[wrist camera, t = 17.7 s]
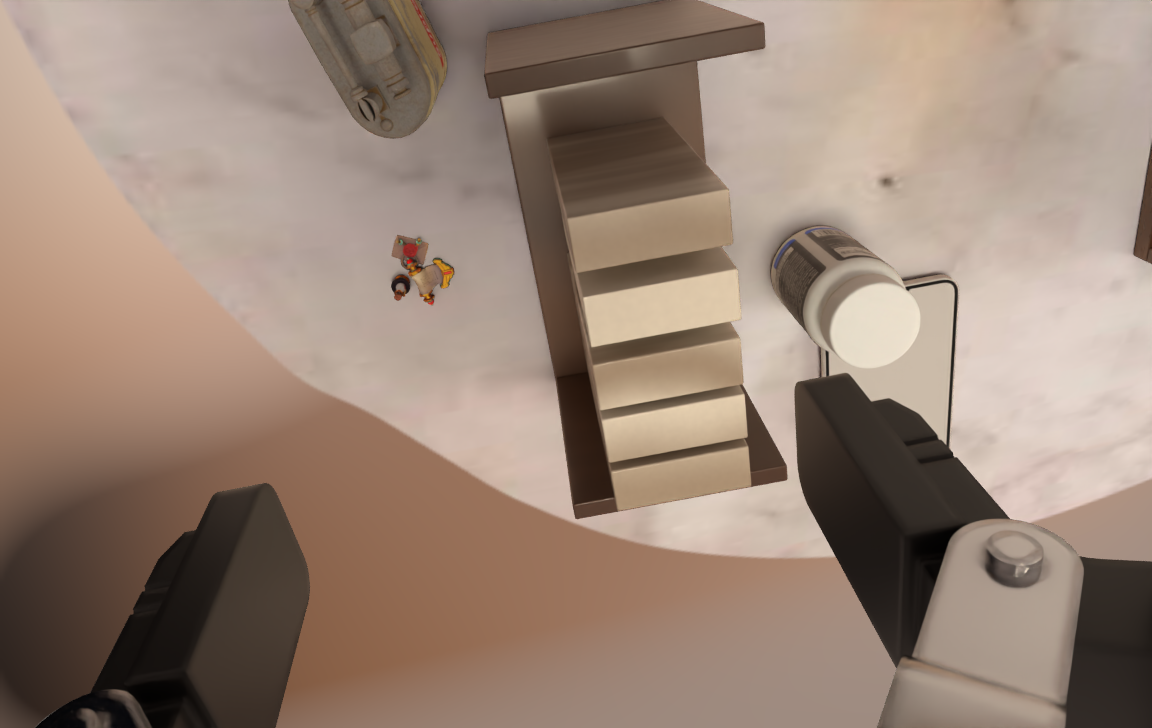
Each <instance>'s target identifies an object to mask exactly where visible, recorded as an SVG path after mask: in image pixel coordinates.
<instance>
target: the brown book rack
mask: <svg viewBox="0 0 1152 728" xmlns="http://www.w3.org/2000/svg"><path fill="white" fill-rule="evenodd" d="M1134 256H1136V257H1138V258H1140V259H1142V260H1144V261H1148V262H1149V263H1151V264H1152V149H1151V155H1150V161H1149V167H1148V173H1147V179H1146V185H1145V191H1144V197H1143V203H1142V209H1141V215H1140V221H1139V227H1138V233H1137V239H1136V245H1135V251H1134Z"/></svg>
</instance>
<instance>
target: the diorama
mask: <svg viewBox="0 0 1152 728" xmlns="http://www.w3.org/2000/svg"><path fill="white" fill-rule="evenodd" d="M427 249H428V243H425V242H422V241H421V239H420V238H418V239H417V240H416V239H412V238H408V237H404V236H400V235H397V236H396V239H395V243H394V246H393V251H392V257H395V258H399V259H401V265H402V266H403V267H404V268H405V269H407V270H410V271H409V272H408V274H409V276H410V277H412V278H413V280H414V281H415V282H416V284H417V286H418V289H419V292H420V294H419V295H420V297H425V299H424V301H425V302H428V304H430V305H433V303H434V300H433V298H434V295H430V293H431V292H432V289H433V288H434V287H435V286H436V285H437V284H438V283H439V284H441V285H440V287H441V288H446V287H448V286H449V283H448V282H449V281H450V279H451V278H452V277H453V274H454V269H453V268H452V267H451V266H450V265H448V264H445V263H444V262H442V259H439V258H435V259H433V263H434V265H430V266H427V267H425V270H424V269H422V270H421V268H420V267H417V266H418V264H421V265H423V263H424V261H425V257H426V253H427ZM404 260H405V261H407V266H405V265H404V262H403V261H404ZM435 264H436V265H435ZM409 283H410V282H409V279H408V278H407V277H406V276H405V275H399V276H397V277H396V278H395V280H394V281H393V282H392V285H391V288H392V290H393V292H394V293H395V296H394V299H396V300H397V301H398V300H400V299H401V297H402V296H403V297H404V296H405V294H407V293H408V292H409V290H410V284H409ZM436 283H437V284H436ZM442 283H443V284H442Z"/></svg>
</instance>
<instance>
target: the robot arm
mask: <svg viewBox="0 0 1152 728" xmlns="http://www.w3.org/2000/svg"><path fill="white" fill-rule="evenodd" d="M795 418H796V441H797V463H798V473H799V478H800V483H801V487H802V490H803V494H804V496H805V499H806V502H807V504H808V506H809V508H810V510H811V512H812V514H813V515H814V517H815V519H816V521H817V523H818V525H819V526H820V528H821V530H822V532H823V534H824V536H825V537H826V539H827V541H828V543H829V545H830V547H831V549H832V550H833V552H834V554H835V556H836V558H837V559H838V561H839V563H840V565H841V567H842V569H843V571H844V573H845V574H846V576H847V578H848V580H849V582H850V583H851V585H852V587H853V589H854V591H855V593H856V595H857V597H858V598H859V600H860V602H861V604H862V606H863V608H864V609H865V611H866V613H867V615H868V617H869V619H870V620H871V622H872V624H873V626H874V628H875V630H876V632H877V633H878V635H879V637H880V639H881V641H882V643H883V644H884V646H885V648H886V650H887V652H888V653H889V656H890V657H891V659H892V661H893V663H894V664H895V667H896V668H897V669H896V672H895V675H894V678H893V681H892V684H891V687H890V690H889V693H888V696H887V699H886V702H885V705H884V708H883V711H882V714H881V717H880V720H879V723H878V726H877V728H1152V562H1147V561H1127V560H1107V559H1094V558H1086V557H1081V556H1079V555H1078V554H1077V552H1076V551H1075V550H1074V549H1073V548H1072V546H1071V545H1070V544H1068V543H1067V542H1066V541H1065V540H1064V539H1062V538H1061V537H1059V536H1058V535H1056V534H1055V533H1053V532H1051V531H1049V530H1047V529H1045V528H1042V527H1040V526H1037V525H1034V524H1031V523H1027V522H1024V521H1018V520H1012V519H1010V518H1009V517H1008V516H1007V515H1006V514H1005V512H1004V511H1003V510H1002V509H1001V508H1000V507H999V506H998V504H997V503H996V502H995V501H994V500H993V499H992V497H991V496H990V495H989V494H988V493H987V492H986V490H985V489H984V488H983V487H982V486H981V485H980V484H979V482H978V481H977V480H976V479H975V478H974V477H973V475H972V474H971V473H970V472H969V471H968V470H967V468H966V467H965V466H964V465H963V464H962V463H961V462H960V460H959V459H958V458H957V457H956V458H954V456H953V452H952V451H951V450H950V449H949V448H948V447H947V445H946V444H945V443H944V442H943V441H942V440H939V439H938V435H937V434H936V433H935V431H934V430H933V429H932V428H931V427H930V426H929V425H928V423H927V422H926V421H925V420H924V419H923V418H922V416H921V415H920V414H919V413H917V412H915V411H913V410H911V409H909V408H907V407H905V406H904V405H902V404H900V403H898V402H896V401H894V400H892V399H890V398H887V399H881V400H876V401H870V399H869V398H868V397H867V395H866V394H865V393H864V392H863V390H862V389H861V388H860V387H859V385H858V384H857V383H856V381H855V380H854V379H853V378H852V377H851V375H850V374H848V373H841V374H836V375H831V376H826V377H821V378H815V379H810V380H805V381H800V382H797V383H796V386H795ZM309 593H310V582H309V573H308V568H307V564H306V561H305V558H304V556H303V553H302V551H301V549H300V546H299V544H298V542H297V540H296V537H295V535H294V532H293V530H292V528H291V525H290V523H289V521H288V519H287V516H286V514H285V512H284V509H283V507H282V505H281V502H280V500H279V498H278V496H277V493H276V492H275V490H274V488H273V487H272V486H271V485H269V484H267V483H264V484H258V485H253V486H248V487H243V488H237V489H232V490H227V491H222V492H217V493H215V494H214V495H213V496H212V498H211V500H210V502H209V504H208V506H207V508H206V510H205V512H204V515H203V517H202V519H201V521H200V523H199V525H198V527H197V529H196V530H195V531H189V532H185V533H184V534H183V535H182V536H181V537H180V538H179V539H178V540H177V541H176V542H175V543H174V544H173V545H172V546H171V547H170V548H169V549H168V550H167V551H166V552H165V553H164V554H163V555H162V556H161V557H160V558H159V559H158V561H157V563H156V565H155V567H154V569H153V571H152V573H151V575H150V577H149V579H148V581H147V583H146V585H145V591H144V592H142V593H141V595H140V596H139V598H138V600H137V602H136V604H135V606H134V608H133V610H134V614H133V615H130V616H129V618H128V620H127V622H126V624H125V626H124V628H123V630H122V632H121V634H120V636H119V638H118V639H117V642H116V643H115V646H114V647H113V649H112V651H111V653H110V655H109V657H108V659H107V661H106V663H105V665H104V667H103V669H102V671H101V673H100V675H99V677H98V679H97V681H96V683H95V685H94V686H93V688H92V691H91V693H89V694H86V695H84V696H81V697H79V698H77V699H75V700H72V701H71V702H69V703H67V704H65V705H63V706H62V707H60V708H59V709H57V710H56V711H54V712H53V713H51V714H50V715H49V716H48V717H46V718H45V719H44V720H43V721H41V722H40V723H39V724H38V725H37V726H36V727H35V728H275V727H276V723H277V719H278V716H279V712H280V708H281V704H282V700H283V697H284V693H285V689H286V685H287V681H288V677H289V674H290V669H291V666H292V662H293V658H294V654H295V650H296V647H297V643H298V639H299V635H300V631H301V628H302V624H303V620H304V616H305V612H306V609H307V605H308V600H309Z"/></svg>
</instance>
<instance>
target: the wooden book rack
mask: <svg viewBox="0 0 1152 728" xmlns="http://www.w3.org/2000/svg"><path fill="white" fill-rule="evenodd" d="M764 48H765V28H764V23H763V22H760V21H757V20H754V19H751V18H748V17H746V16H743V15H740V14H737V13H734V12H731V11H728V10H725V9H722V8H719V7H716V6H713V5H710V4H707V3H704V2H701V1H698V0H663V1H658V2H652V3H647V4H641V5H636V6H631V7H625V8H620V9H614V10H609V11H603V12H598V13H593V14H587V15H582V16H576V17H571V18H566V19H560V20H555V21H549V22H544V23H539V24H533V25H528V26H522V27H517V28H511V29H506V30H501V31H495V32H490V33H488V35H487V47H486V60H485V74H484V77H485V82H486V87H487V91H488V96H489V98H490V99H494V98H500V103H501V108H502V113H503V118H504V123H505V128H506V133H507V138H508V143H509V148H510V153H511V158H512V163H513V168H514V173H515V178H516V183H517V188H518V193H519V198H520V203H521V208H522V213H523V218H524V223H525V228H526V233H527V238H528V243H529V248H530V253H531V258H532V263H533V268H534V273H535V278H536V283H537V288H538V293H539V298H540V303H541V308H542V313H543V318H544V323H545V328H546V333H547V338H548V343H549V348H550V353H551V358H552V363H553V368H554V373H555V378H556V386H557V393H558V401H559V408H560V416H561V423H562V430H563V438H564V445H565V453H566V460H567V467H568V475H569V482H570V490H571V497H572V504H573V510H574V514H575V518H576V519H580V518H586V517H591V516H596V515H602V514H607V513H613V512H618V511H623V510H629V509H634V508H640V507H645V506H650V505H656V504H661V503H666V502H672V501H677V500H683V499H688V498H693V497H699V496H704V495H710V494H715V493H720V492H726V491H731V490H737V489H742V488H747V487H753V486H758V485H764V484H769V483H774V482H780V481H785V480H787V465H786V463H785V462H784V460H783V458H782V456H781V454H780V452H779V451H778V449H777V447H776V445H775V443H774V441H773V440H772V438H771V436H770V434H769V432H768V430H767V429H766V427H765V425H764V423H763V421H762V419H761V418H760V416H759V414H758V412H757V410H756V408H755V407H754V405H753V403H752V401H751V399H750V397H749V396H748V394H747V392H746V390H745V388H744V386H743V385H742V384H743V368H742V355H741V342H740V337H739V336H738V334H737V333H736V331H735V329H734V328H733V326H732V324H731V323H730V322H725V323H719V324H714V325H709V326H703V327H698V328H693V329H687V330H682V331H677V332H671V333H666V334H660V335H655V336H650V337H644V338H639V339H634V340H628V341H623V342H617V343H612V344H607V345H601V346H596V347H591V344H590V340H589V336H588V332H587V327H586V323H585V319H584V314H583V310H582V306H581V301H580V297H579V293H578V288H577V284H576V280H575V275H574V271H573V267H572V262H571V258H570V254H569V249H568V245H567V241H566V236H565V230H566V234H567V238H568V242H569V247H570V251H571V255H572V259H573V264H574V268H575V272H576V273H580V272H585V271H590V270H596V269H601V268H607V267H612V266H618V265H623V264H628V263H634V262H639V261H645V260H650V259H655V258H661V257H666V256H672V255H677V254H682V253H688V252H693V251H699V250H704V249H709V248H715V247H720V246H726V245H731V244H733V236H732V223H731V210H730V197H729V189H728V188H727V187H726V186H725V184H724V183H723V182H722V181H721V180H720V179H719V178H718V177H717V176H716V175H715V173H714V172H713V171H712V170H711V169H710V168H709V167H708V166H707V165H706V159H705V148H704V136H703V125H702V114H701V102H700V91H699V80H698V69H697V61H700V60H705V59H710V58H716V57H721V56H727V55H732V54H738V53H743V52H748V51H754V50H759V49H764ZM562 217H563V219H562ZM563 221H564V225H565V230H564V225H563Z"/></svg>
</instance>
